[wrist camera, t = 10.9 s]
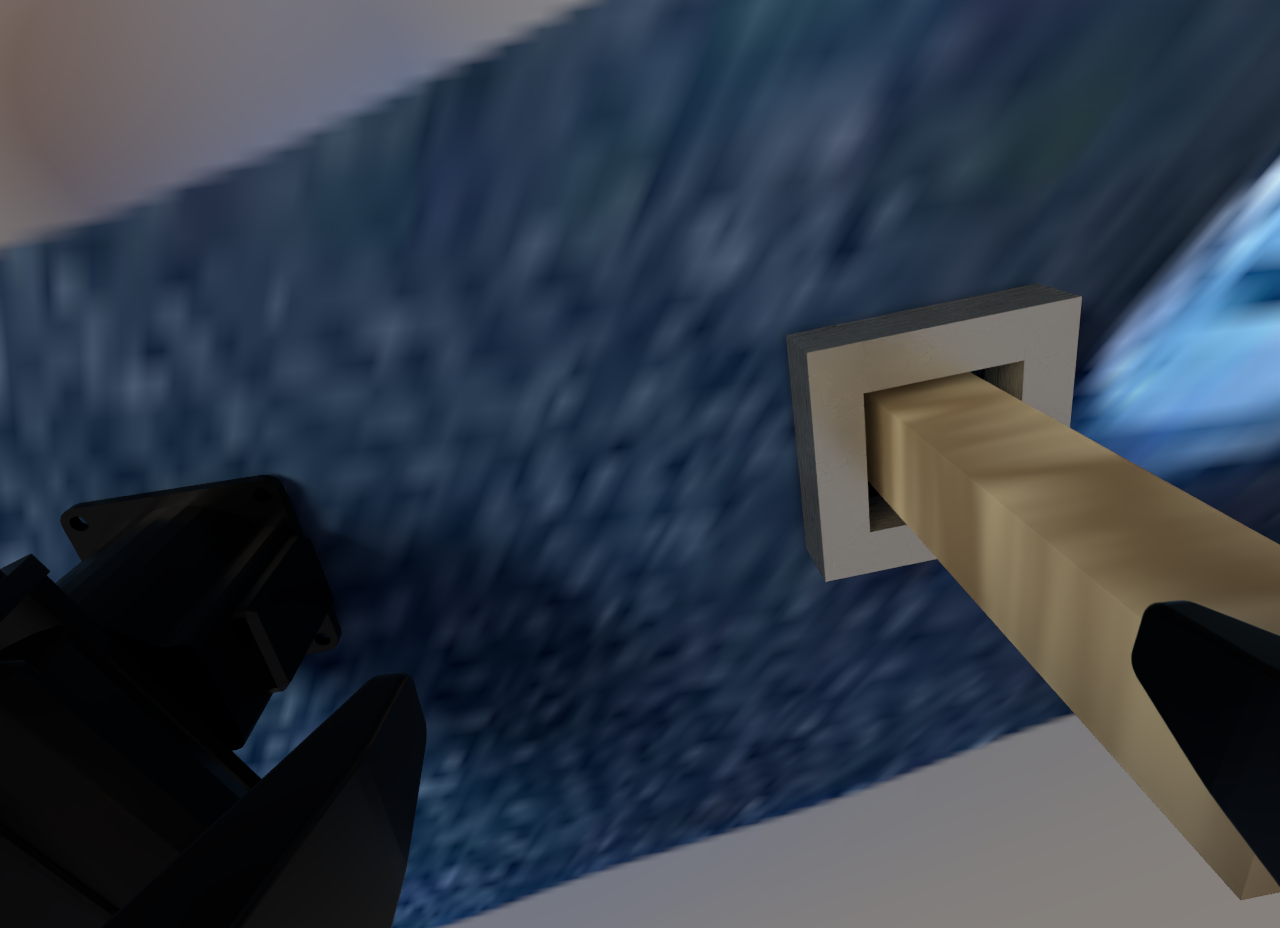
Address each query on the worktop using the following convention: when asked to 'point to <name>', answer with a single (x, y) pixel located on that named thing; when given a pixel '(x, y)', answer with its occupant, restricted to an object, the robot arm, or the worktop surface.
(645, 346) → the worktop surface
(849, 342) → the socket plate
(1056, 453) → the pin
